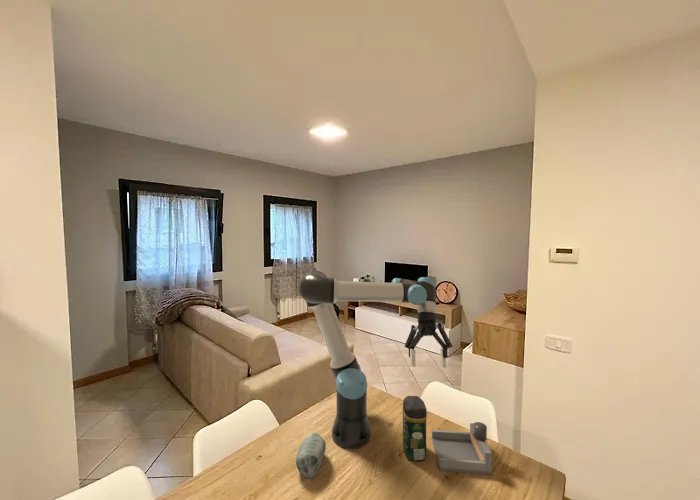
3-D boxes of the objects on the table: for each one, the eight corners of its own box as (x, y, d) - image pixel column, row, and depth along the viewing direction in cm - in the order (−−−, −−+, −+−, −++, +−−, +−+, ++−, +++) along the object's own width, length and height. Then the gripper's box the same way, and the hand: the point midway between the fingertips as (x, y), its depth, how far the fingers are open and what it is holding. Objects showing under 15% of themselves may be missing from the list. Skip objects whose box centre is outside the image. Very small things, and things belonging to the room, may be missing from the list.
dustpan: (440, 470, 92) (440, 437, 91) (431, 438, 107) (431, 410, 106) (494, 475, 90) (495, 441, 90) (478, 442, 105) (478, 413, 105)
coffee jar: (400, 442, 105) (401, 393, 104) (422, 442, 105) (422, 393, 104) (405, 462, 95) (405, 408, 95) (428, 462, 95) (429, 408, 95)
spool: (322, 476, 85) (310, 441, 88) (295, 487, 87) (285, 452, 90) (335, 455, 98) (325, 425, 101) (312, 464, 99) (302, 434, 102)
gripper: (459, 312, 114) (462, 369, 104) (407, 317, 130) (406, 367, 121) (450, 307, 109) (453, 366, 100) (397, 313, 126) (395, 364, 116)
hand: (427, 366), depth 110 cm, fingers open, 13 cm apart
